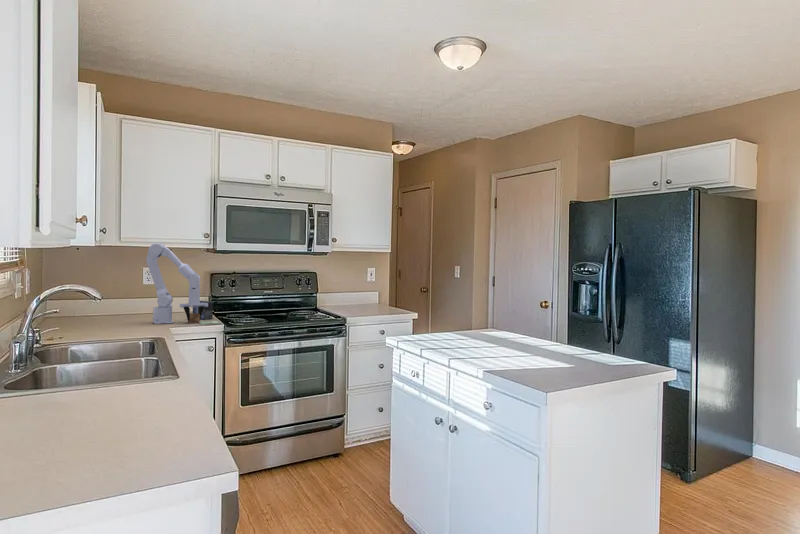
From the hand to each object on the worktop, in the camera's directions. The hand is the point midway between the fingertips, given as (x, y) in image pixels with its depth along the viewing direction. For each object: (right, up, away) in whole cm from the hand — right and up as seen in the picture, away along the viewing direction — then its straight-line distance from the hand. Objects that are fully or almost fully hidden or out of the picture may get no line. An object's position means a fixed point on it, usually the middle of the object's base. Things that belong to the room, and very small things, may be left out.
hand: (193, 320), depth 273 cm
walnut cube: (0, -1, 0) cm, 1 cm away
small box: (-2, -1, +17) cm, 17 cm away
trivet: (+10, -2, -2) cm, 10 cm away
